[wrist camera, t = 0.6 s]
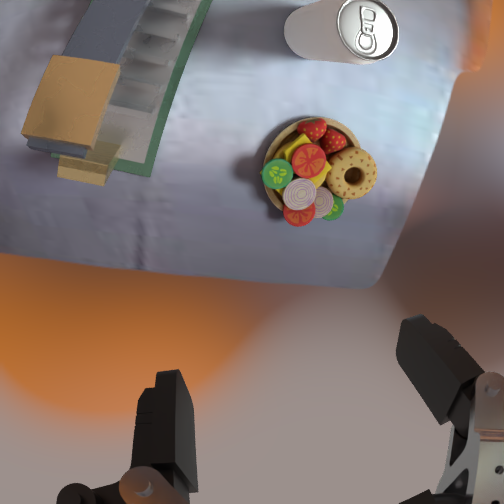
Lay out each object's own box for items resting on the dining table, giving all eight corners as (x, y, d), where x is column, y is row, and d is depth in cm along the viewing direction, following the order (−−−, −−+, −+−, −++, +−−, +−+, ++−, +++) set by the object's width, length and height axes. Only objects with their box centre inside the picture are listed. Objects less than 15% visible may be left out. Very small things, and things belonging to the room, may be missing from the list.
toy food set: (376, 170, 39) (389, 179, 37) (304, 234, 43) (313, 248, 40) (319, 93, 32) (331, 97, 30) (235, 170, 36) (240, 181, 33)
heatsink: (123, -64, 17) (108, -97, 10) (232, -42, 21) (250, -72, 14) (52, 155, 29) (19, 186, 22) (150, 175, 33) (142, 212, 26)
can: (280, 57, 29) (328, 59, 19) (283, 2, 25) (333, -19, 15) (336, 63, 30) (400, 73, 20) (339, 12, 26) (405, 3, 17)
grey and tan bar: (146, -66, 14) (149, -82, 13) (194, -58, 16) (199, -72, 14) (28, 150, 15) (18, 142, 13) (92, 162, 16) (87, 154, 14)
